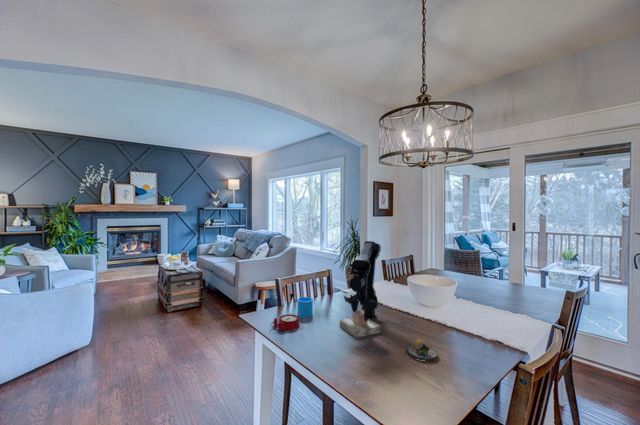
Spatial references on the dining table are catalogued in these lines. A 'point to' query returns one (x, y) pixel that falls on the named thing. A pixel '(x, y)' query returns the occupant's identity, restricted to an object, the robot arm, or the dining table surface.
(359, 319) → the cube
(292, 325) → the alarm clock
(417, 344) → the plate of food
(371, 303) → the robot arm
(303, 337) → the dining table surface
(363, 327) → the plinth
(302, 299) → the mug
